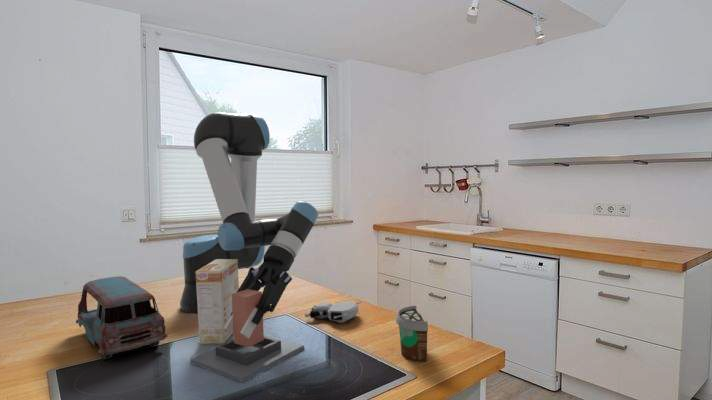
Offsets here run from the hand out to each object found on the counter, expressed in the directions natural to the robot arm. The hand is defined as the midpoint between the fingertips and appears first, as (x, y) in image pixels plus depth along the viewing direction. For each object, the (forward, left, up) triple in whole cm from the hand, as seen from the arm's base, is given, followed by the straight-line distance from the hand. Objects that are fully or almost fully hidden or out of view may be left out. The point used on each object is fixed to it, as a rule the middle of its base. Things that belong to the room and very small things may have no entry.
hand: (236, 333), depth 100 cm
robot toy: (+2, +36, -7) cm, 36 cm away
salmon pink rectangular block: (0, +4, -3) cm, 5 cm away
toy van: (-38, -8, -7) cm, 39 cm away
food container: (+33, +25, -7) cm, 42 cm away
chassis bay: (0, +4, -7) cm, 8 cm away
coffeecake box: (-18, +10, -7) cm, 22 cm away
